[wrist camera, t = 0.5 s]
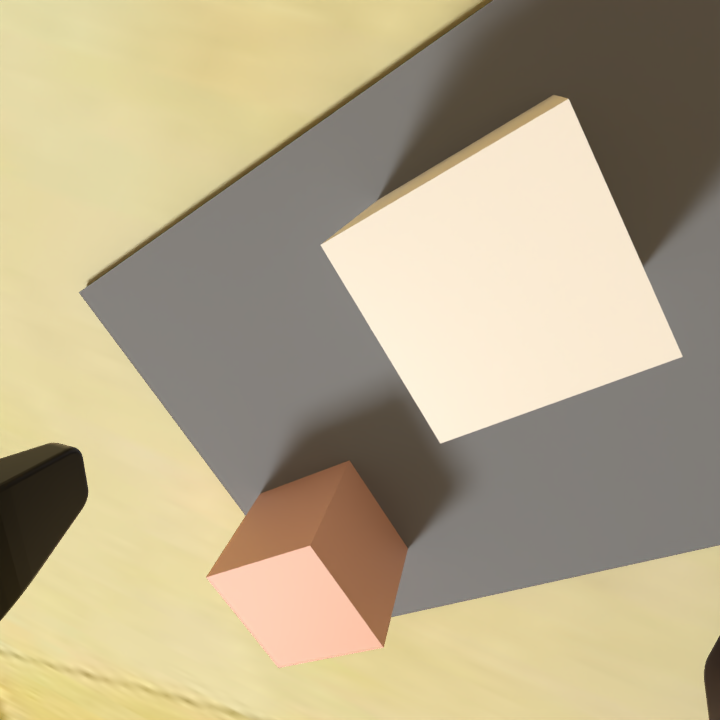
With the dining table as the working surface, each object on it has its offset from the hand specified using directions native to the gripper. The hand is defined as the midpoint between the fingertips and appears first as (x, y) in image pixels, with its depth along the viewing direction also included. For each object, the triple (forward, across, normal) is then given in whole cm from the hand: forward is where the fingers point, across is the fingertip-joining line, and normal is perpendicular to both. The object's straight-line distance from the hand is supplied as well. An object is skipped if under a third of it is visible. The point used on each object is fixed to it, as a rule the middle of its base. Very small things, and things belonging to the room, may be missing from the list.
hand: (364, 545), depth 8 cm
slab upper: (+10, -1, -2) cm, 10 cm away
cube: (+13, +4, +12) cm, 18 cm away
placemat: (+13, 0, +4) cm, 14 cm away
